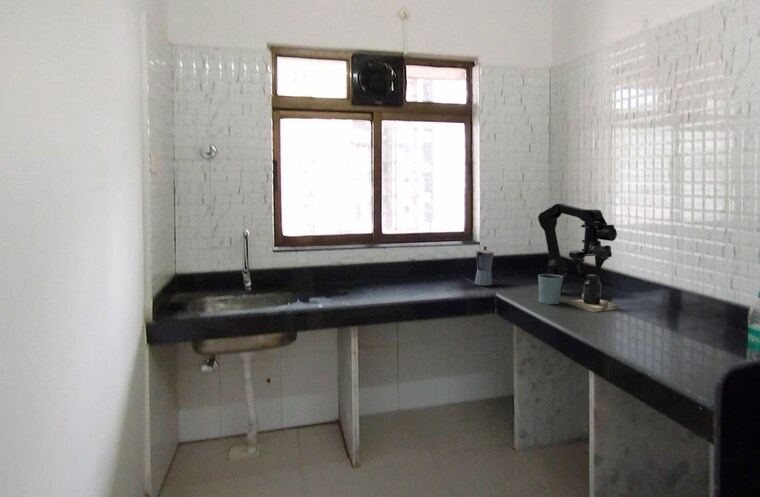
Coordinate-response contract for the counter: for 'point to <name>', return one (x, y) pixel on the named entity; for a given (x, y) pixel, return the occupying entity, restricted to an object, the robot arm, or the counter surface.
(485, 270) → the moka pot
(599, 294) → the supplement bottle
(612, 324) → the counter surface
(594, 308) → the locating pad
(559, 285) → the teal tapered cup
